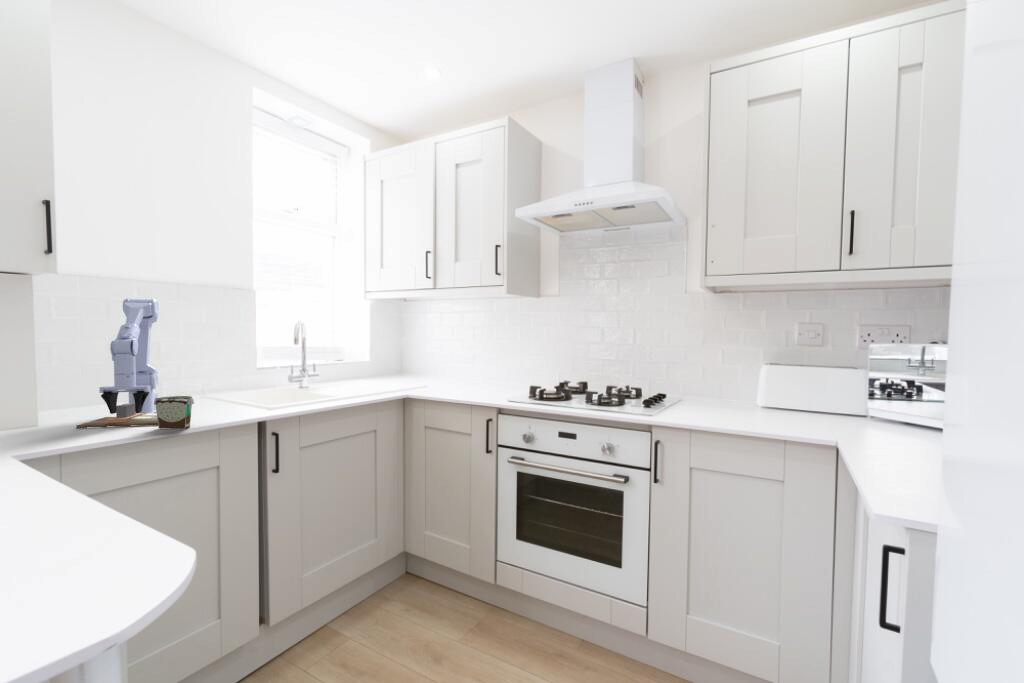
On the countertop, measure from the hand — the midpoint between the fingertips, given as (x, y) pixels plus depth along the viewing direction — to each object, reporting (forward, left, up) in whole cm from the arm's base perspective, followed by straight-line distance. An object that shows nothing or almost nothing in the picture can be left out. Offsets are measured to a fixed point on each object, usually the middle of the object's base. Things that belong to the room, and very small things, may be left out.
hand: (126, 413), depth 159 cm
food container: (+11, +22, -4) cm, 25 cm away
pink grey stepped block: (0, 0, -2) cm, 2 cm away
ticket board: (0, +2, -3) cm, 4 cm away
